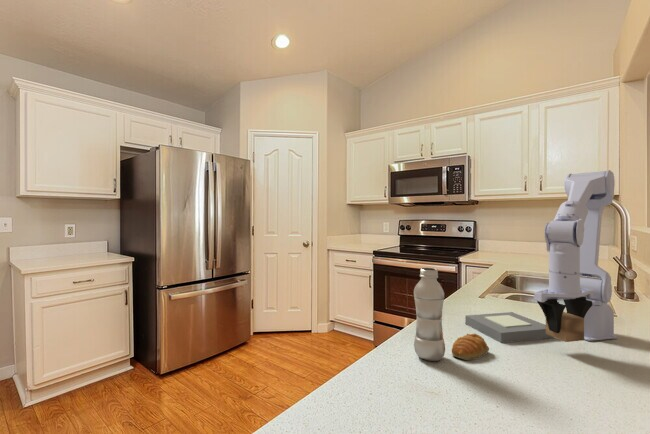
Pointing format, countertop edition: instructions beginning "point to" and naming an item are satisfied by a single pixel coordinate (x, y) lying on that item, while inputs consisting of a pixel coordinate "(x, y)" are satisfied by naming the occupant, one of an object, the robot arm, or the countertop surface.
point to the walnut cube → (569, 328)
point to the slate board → (507, 327)
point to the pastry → (470, 347)
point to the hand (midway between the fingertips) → (564, 330)
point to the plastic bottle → (429, 316)
